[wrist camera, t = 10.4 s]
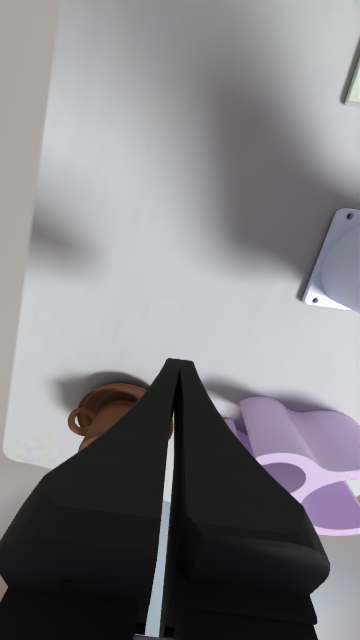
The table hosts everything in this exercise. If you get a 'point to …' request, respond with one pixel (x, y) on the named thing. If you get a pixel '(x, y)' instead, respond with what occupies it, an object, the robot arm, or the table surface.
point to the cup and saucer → (104, 410)
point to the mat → (354, 89)
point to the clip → (307, 459)
